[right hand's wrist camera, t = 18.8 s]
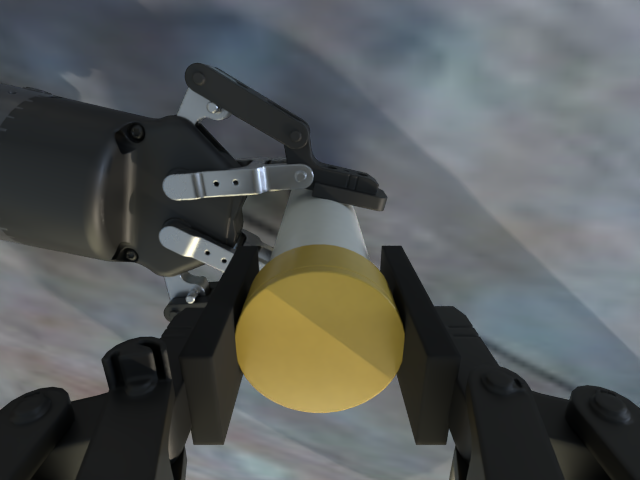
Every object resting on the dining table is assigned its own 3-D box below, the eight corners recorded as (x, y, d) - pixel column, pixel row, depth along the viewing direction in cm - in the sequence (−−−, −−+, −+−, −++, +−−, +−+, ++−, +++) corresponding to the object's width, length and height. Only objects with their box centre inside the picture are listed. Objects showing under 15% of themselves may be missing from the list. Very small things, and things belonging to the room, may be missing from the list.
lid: (339, 390, 14) (342, 436, 12) (220, 329, 13) (203, 368, 11) (423, 292, 12) (441, 327, 10) (295, 214, 11) (291, 237, 9)
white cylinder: (277, 203, 26) (224, 338, 11) (316, 156, 25) (311, 242, 10) (323, 238, 27) (326, 405, 12) (362, 196, 26) (417, 325, 11)
